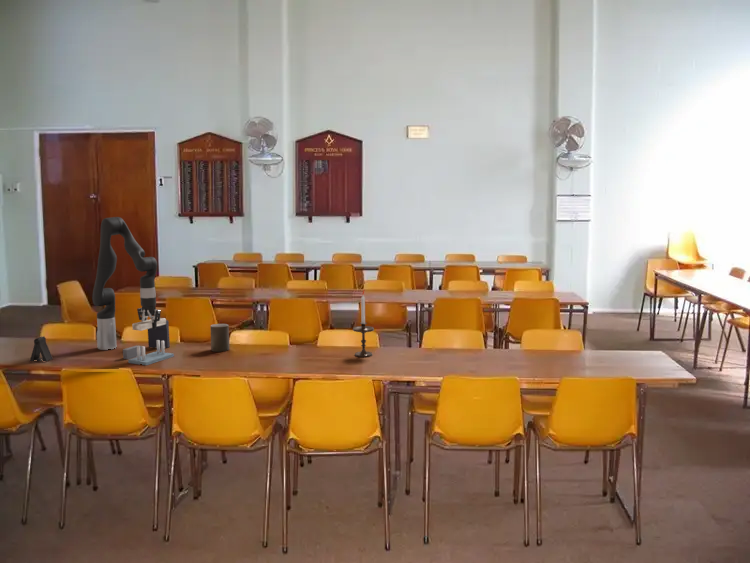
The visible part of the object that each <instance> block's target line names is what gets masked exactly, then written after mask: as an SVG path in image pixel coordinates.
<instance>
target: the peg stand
mask: <svg viewBox="0 0 750 563" xmlns="http://www.w3.org/2000/svg"><path fill="white" fill-rule="evenodd" d="M156 343H157V348H156V351H153V352H150V353H147V354H146V346H144V345H138V346H137V345H136V346H137V357H134V358H131V359H127V361H128V362H127V363H129V364H133V365H140V364H142V365H141V366H149V365H152V364H155V363H157V362H161V361H164V360H168V359H171V358H173V357H175V353H173V352H172V353H171V352H166V350H165V349H166V348H165V346H164V341H161V348H160V340H156ZM140 346H141V351H142V355H140Z"/></svg>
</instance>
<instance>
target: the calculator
mask: <svg viewBox="0 0 750 563" xmlns="http://www.w3.org/2000/svg"><path fill="white" fill-rule="evenodd" d="M169 323H170V322H169V320H168V319H166V324H165V325H161V326H157V328H156V329H155V330H152V328H149V329H147V341H148V348H151V349H152V348H153V349H157V343H156V340H160V349H161V341H164V346H165V349H168V348H170V345H171V344H170V327H169Z"/></svg>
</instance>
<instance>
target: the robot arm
mask: <svg viewBox="0 0 750 563" xmlns="http://www.w3.org/2000/svg"><path fill="white" fill-rule="evenodd" d="M116 235H117V236H118V235H120V236H121V237H123V240H124V241H123V243H124V244H123V245H124V249H125V251H126V253H127V254H128V255H129V256H130V258H131V259H132V261H133V264H134V267H135V269H136V270H137V271H138V272H145V274H144V275H142V276H140V279H139V285H140V286H139V287H140V290H139V291H140V292H139V297H140V306H141V307H140V308H137V310H136V311H137V316H138V320H139V321H141V322H142V321H146V320H148V318H149V320H150V319H151V320H152V322H153V323H152V330H155V329H156V328H157V321H160V318H161V313H162V312H161V309H157V308H156V305H157V298H156V297H157V294H156V293H157V291H156V286H155V285H156V284H155V282H156V281H155V279H156V274H157V270H158V261H157V259H156V258H155V257H154V256H146V252H145V250H144V249H143V248H142V247H141V245H140V244H139V243H138V242H137V241H136V239H135V237H134V235H133V234H132V232H131V230H130V229H129V226H128V225H127V223H126V221H124V219H123V218H122V217H120V216H113V217H106V218H103V219H102V220H101V224H100V238H99V239H100V240H99V241H100V242H99V244H100V245H99V251H98V252H99V253H98V257H97V258H98V259H97V265H96V266H97V267H96V274H95V275H96V276H95V277H96V278H95V281H94V286H93V290H92V298H91V299H92V303H93V305H94V306H96V307H102V306H103V307H104V308H103V309H102V310H100V311H98V312H97V313H96V321H97V323H96V324H97V331H96V346H97V349H98V350H101V351H109V350H108V349H111V350H114V348H115V349H117V348H118V347H117V332H116V330H117V329H116V294H115V290H114V289H113V288H111V287H105V285H106V283H107V282H108V280H109V279H110V278H111V277H112V275H113V274H114V272H115V271H116V269H117V268H116V267H117V261H118V257H117V254H116V252H115V250H114V249H113V247H112V244H111V240H112V236H116ZM145 256H146V257H145ZM157 318H158V319H157ZM116 347H117V348H116Z"/></svg>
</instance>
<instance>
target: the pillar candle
mask: <svg viewBox="0 0 750 563" xmlns="http://www.w3.org/2000/svg"><path fill="white" fill-rule="evenodd" d="M210 348H211V351H212V352H214V353H215V352H216V353H222V351H224V352H228V351H229V350H230V329H229V324H227V323H216V324H215V323H214V324H211V325H210ZM227 350H228V351H227Z"/></svg>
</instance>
